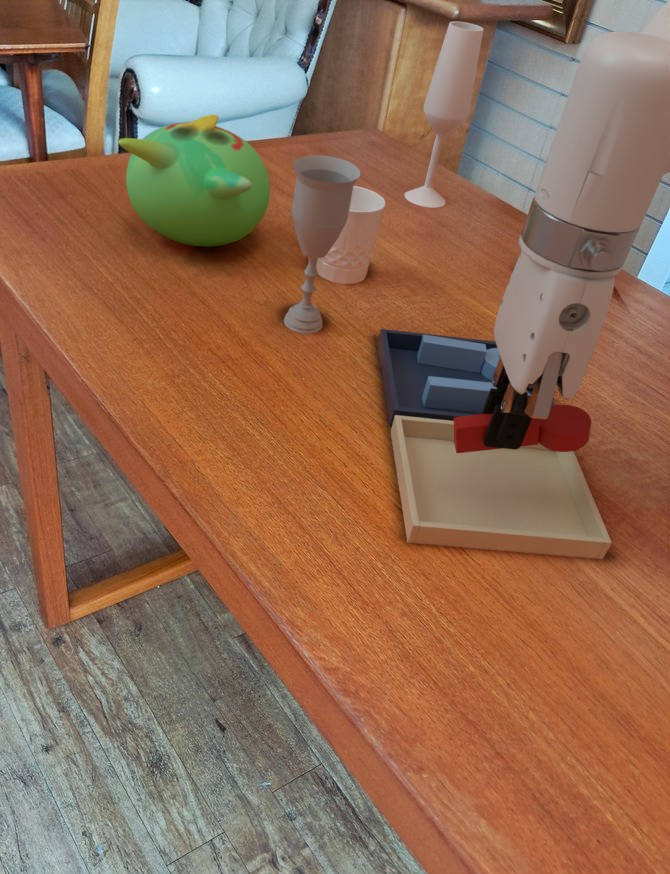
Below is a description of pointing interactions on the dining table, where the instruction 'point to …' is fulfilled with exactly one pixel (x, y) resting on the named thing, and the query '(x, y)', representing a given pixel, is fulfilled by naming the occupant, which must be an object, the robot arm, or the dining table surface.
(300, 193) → the chalice
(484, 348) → the blue spoon
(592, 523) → the cream tray
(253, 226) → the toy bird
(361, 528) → the dining table surface
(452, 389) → the blue spoon
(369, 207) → the white cup
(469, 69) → the champagne flute
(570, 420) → the red spoon
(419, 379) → the blue tray
